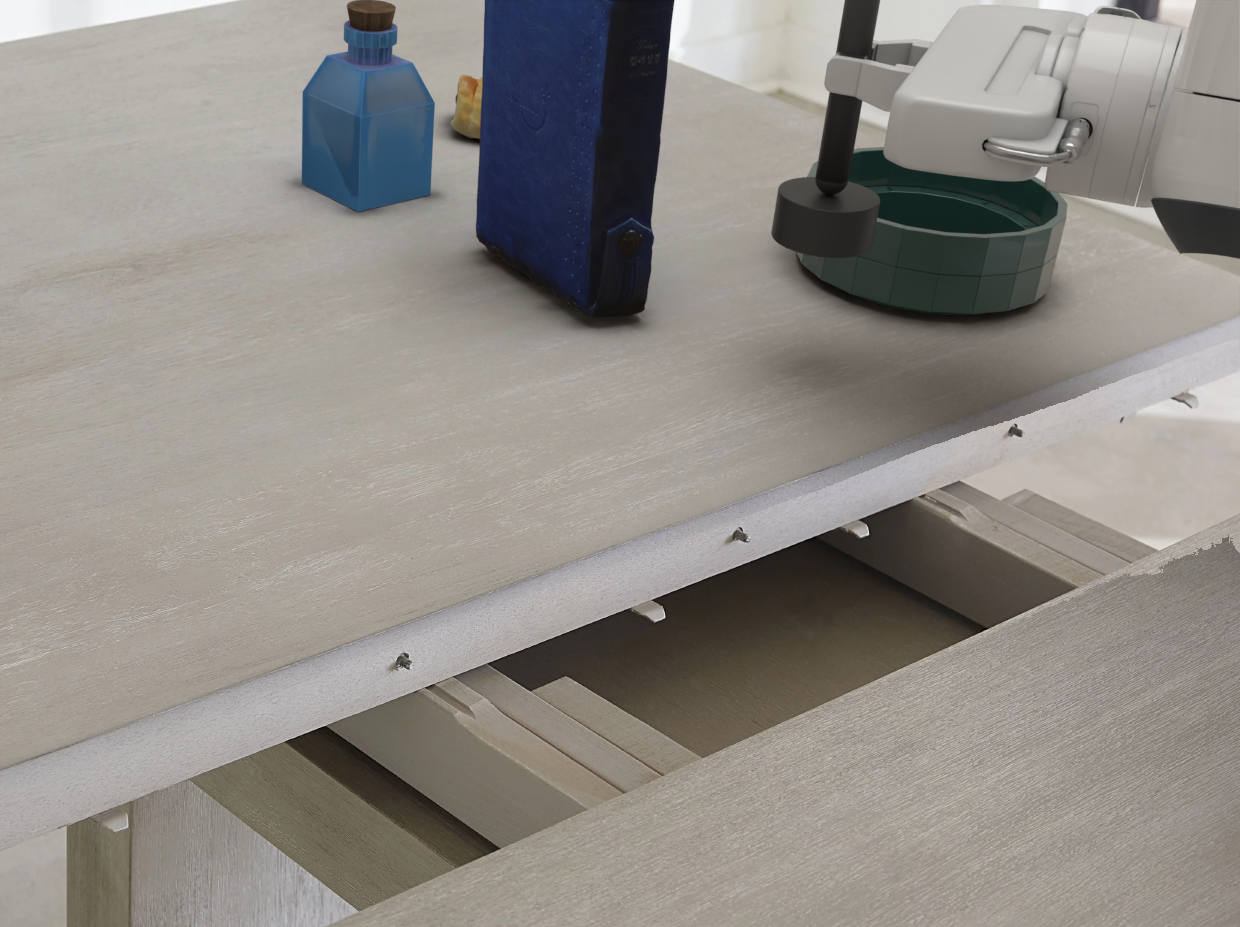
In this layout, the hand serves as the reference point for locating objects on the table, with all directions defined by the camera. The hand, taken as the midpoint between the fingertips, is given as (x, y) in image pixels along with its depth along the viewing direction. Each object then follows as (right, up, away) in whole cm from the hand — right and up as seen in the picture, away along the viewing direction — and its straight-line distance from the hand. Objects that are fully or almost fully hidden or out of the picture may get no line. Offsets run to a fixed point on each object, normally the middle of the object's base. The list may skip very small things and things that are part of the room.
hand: (835, 62), depth 100 cm
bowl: (+10, -6, +22) cm, 25 cm away
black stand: (0, -8, +5) cm, 10 cm away
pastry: (-17, +9, +40) cm, 45 cm away
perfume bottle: (-27, +1, +28) cm, 39 cm away
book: (-14, -8, +17) cm, 23 cm away
